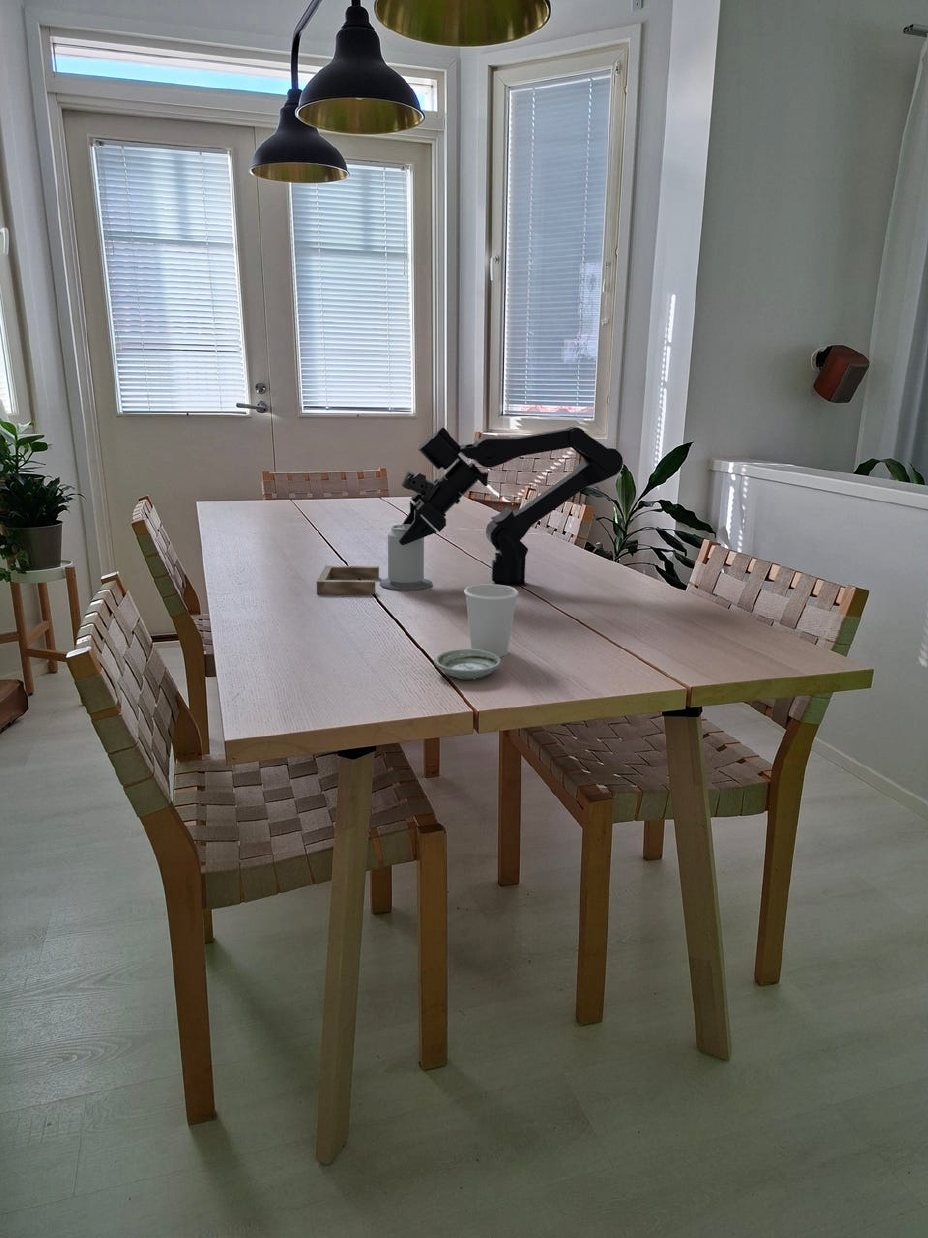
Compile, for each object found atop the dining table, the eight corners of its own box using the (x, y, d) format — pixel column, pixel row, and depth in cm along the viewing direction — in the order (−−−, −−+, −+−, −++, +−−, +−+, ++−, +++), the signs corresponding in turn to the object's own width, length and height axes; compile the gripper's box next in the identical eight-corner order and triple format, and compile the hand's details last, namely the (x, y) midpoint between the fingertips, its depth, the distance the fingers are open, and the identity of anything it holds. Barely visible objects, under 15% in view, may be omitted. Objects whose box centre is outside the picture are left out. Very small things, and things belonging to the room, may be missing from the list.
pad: (431, 578, 175) (431, 576, 175) (432, 591, 164) (432, 589, 164) (381, 578, 174) (381, 576, 174) (378, 590, 164) (378, 588, 164)
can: (422, 587, 166) (422, 529, 162) (386, 586, 166) (385, 528, 162) (424, 578, 173) (425, 523, 170) (390, 578, 173) (389, 522, 170)
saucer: (421, 677, 116) (421, 661, 115) (457, 659, 124) (457, 644, 123) (478, 691, 111) (479, 674, 110) (512, 671, 119) (513, 655, 118)
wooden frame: (378, 577, 175) (378, 566, 175) (375, 594, 161) (374, 582, 160) (325, 576, 175) (325, 565, 174) (317, 593, 160) (316, 581, 160)
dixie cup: (484, 640, 133) (486, 581, 130) (526, 651, 128) (529, 590, 125) (452, 652, 126) (453, 590, 124) (494, 664, 121) (496, 599, 119)
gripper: (421, 453, 172) (369, 505, 173) (429, 461, 154) (372, 519, 155) (457, 491, 175) (406, 541, 176) (469, 502, 157) (413, 559, 159)
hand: (399, 539), depth 167 cm, fingers open, 9 cm apart
